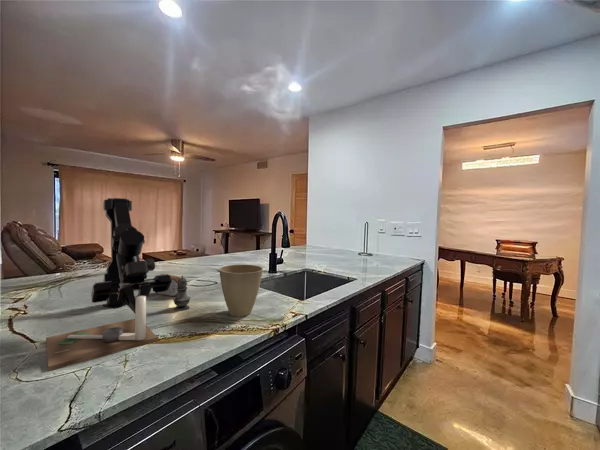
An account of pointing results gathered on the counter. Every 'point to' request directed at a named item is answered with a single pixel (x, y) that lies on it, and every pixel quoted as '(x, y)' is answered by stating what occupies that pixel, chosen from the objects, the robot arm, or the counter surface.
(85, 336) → the crank handle
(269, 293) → the counter surface
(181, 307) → the salt shaker
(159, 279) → the robot arm
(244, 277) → the plant pot
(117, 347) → the dial plate
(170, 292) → the tin
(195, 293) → the counter surface
